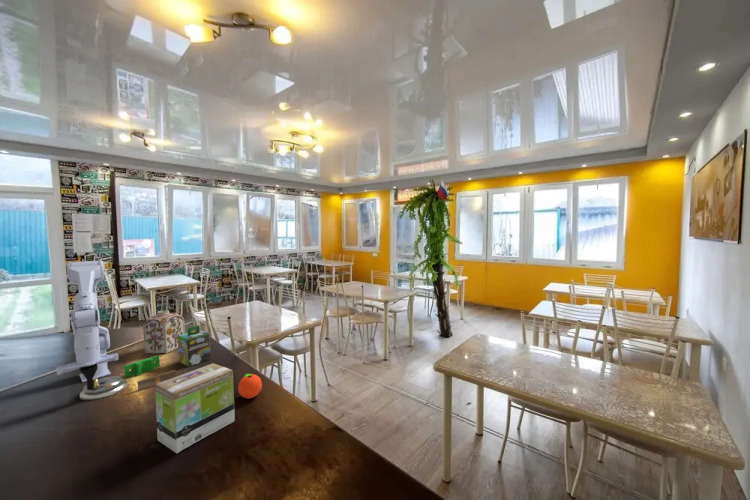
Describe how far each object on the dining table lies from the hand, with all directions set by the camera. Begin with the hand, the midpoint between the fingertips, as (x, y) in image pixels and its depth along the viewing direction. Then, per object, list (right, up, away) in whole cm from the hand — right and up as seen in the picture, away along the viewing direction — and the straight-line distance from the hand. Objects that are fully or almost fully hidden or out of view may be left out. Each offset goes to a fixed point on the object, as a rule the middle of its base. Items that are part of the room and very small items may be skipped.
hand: (90, 388), depth 99 cm
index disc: (0, -2, +5) cm, 6 cm away
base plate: (0, -3, +5) cm, 6 cm away
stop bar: (+16, -2, +9) cm, 18 cm away
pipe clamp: (+3, -3, +19) cm, 20 cm away
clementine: (+53, -2, -2) cm, 53 cm away
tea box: (+46, -3, -19) cm, 50 cm away
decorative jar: (-6, -2, +45) cm, 45 cm away
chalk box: (+17, -2, +28) cm, 33 cm away
